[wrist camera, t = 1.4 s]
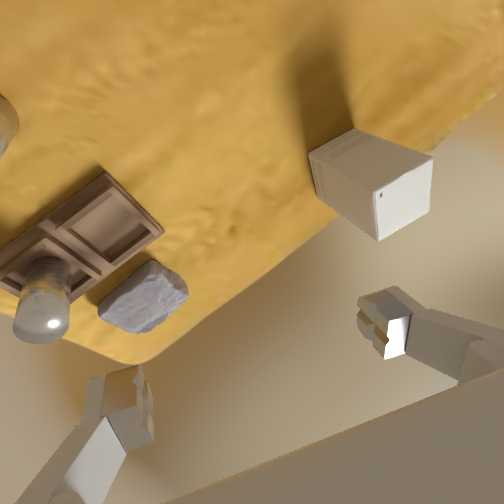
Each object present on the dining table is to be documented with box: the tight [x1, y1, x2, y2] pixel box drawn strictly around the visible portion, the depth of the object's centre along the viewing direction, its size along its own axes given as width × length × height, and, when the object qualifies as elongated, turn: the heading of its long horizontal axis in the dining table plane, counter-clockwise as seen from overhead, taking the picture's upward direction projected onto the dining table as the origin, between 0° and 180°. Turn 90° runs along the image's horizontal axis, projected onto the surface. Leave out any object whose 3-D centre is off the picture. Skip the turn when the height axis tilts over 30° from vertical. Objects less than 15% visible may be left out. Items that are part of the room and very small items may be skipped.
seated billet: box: [13, 256, 72, 344], centre depth 37 cm, size 5×5×10 cm
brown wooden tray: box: [0, 170, 165, 304], centre depth 41 cm, size 11×19×2 cm, turn 120°
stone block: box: [98, 259, 189, 334], centre depth 50 cm, size 12×5×10 cm
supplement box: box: [308, 128, 433, 242], centre depth 46 cm, size 9×9×15 cm
